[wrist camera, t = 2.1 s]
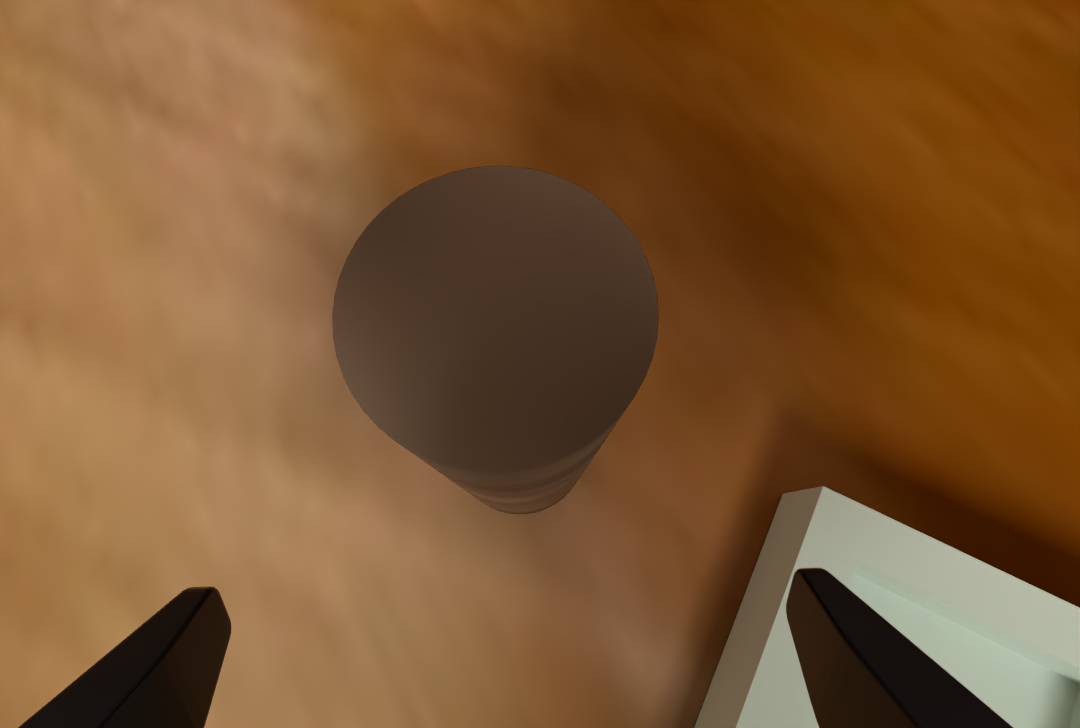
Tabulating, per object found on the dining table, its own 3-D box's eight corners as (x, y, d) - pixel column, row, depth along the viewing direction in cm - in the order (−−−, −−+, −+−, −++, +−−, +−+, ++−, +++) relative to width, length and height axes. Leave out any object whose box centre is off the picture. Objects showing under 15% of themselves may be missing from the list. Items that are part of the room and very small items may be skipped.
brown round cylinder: (550, 537, 20) (572, 533, 8) (431, 476, 21) (268, 378, 8) (606, 418, 21) (708, 241, 9) (493, 363, 22) (432, 121, 9)
